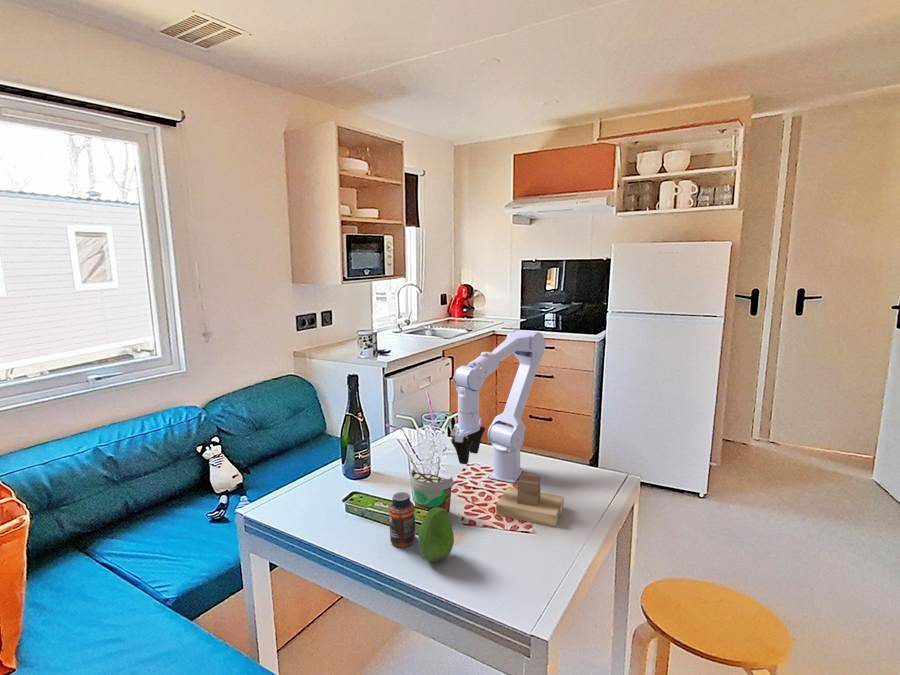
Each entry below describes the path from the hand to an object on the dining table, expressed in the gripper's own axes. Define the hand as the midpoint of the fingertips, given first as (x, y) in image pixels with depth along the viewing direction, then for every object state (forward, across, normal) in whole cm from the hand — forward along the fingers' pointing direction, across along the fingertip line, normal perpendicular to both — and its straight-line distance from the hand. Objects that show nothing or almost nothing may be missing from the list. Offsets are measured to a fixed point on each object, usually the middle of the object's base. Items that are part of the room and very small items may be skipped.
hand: (468, 458), depth 135 cm
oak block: (+10, +3, +18) cm, 21 cm away
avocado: (+11, +30, +4) cm, 32 cm away
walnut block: (+7, +3, +18) cm, 19 cm away
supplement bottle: (+11, +27, -6) cm, 29 cm away
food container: (+11, +14, -6) cm, 18 cm away
